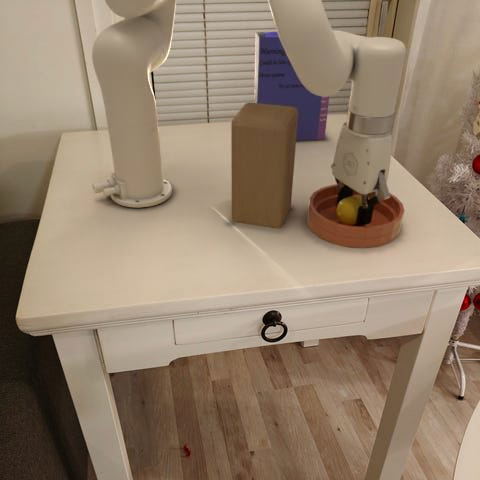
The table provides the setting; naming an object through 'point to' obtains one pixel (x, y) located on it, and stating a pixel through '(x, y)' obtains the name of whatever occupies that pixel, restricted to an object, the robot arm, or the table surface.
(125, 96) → the robot arm
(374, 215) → the fruit bowl
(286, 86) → the purple book
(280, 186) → the wooden block
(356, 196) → the lemon
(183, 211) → the table surface
